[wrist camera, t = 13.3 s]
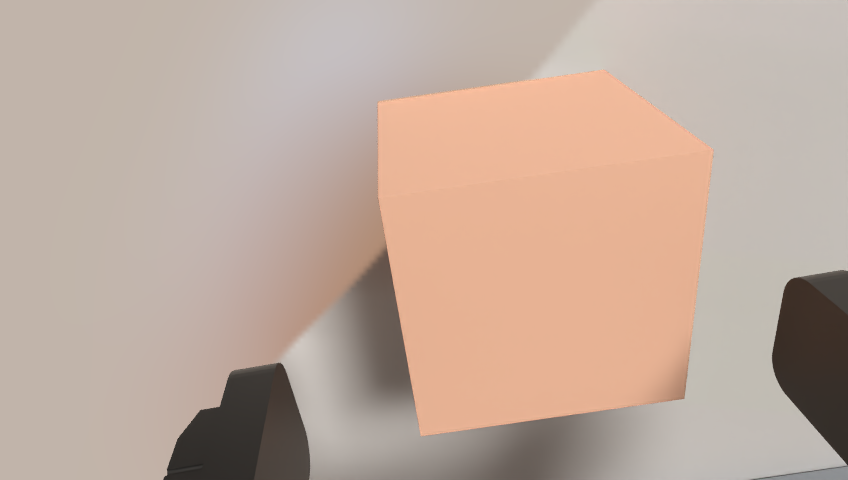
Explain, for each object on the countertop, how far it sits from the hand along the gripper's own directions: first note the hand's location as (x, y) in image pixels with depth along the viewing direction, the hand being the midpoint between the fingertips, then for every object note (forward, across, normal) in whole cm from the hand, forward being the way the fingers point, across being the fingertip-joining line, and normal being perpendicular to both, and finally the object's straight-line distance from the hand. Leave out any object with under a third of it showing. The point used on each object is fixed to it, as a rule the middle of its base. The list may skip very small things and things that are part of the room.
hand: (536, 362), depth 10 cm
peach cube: (+6, 0, 0) cm, 6 cm away
